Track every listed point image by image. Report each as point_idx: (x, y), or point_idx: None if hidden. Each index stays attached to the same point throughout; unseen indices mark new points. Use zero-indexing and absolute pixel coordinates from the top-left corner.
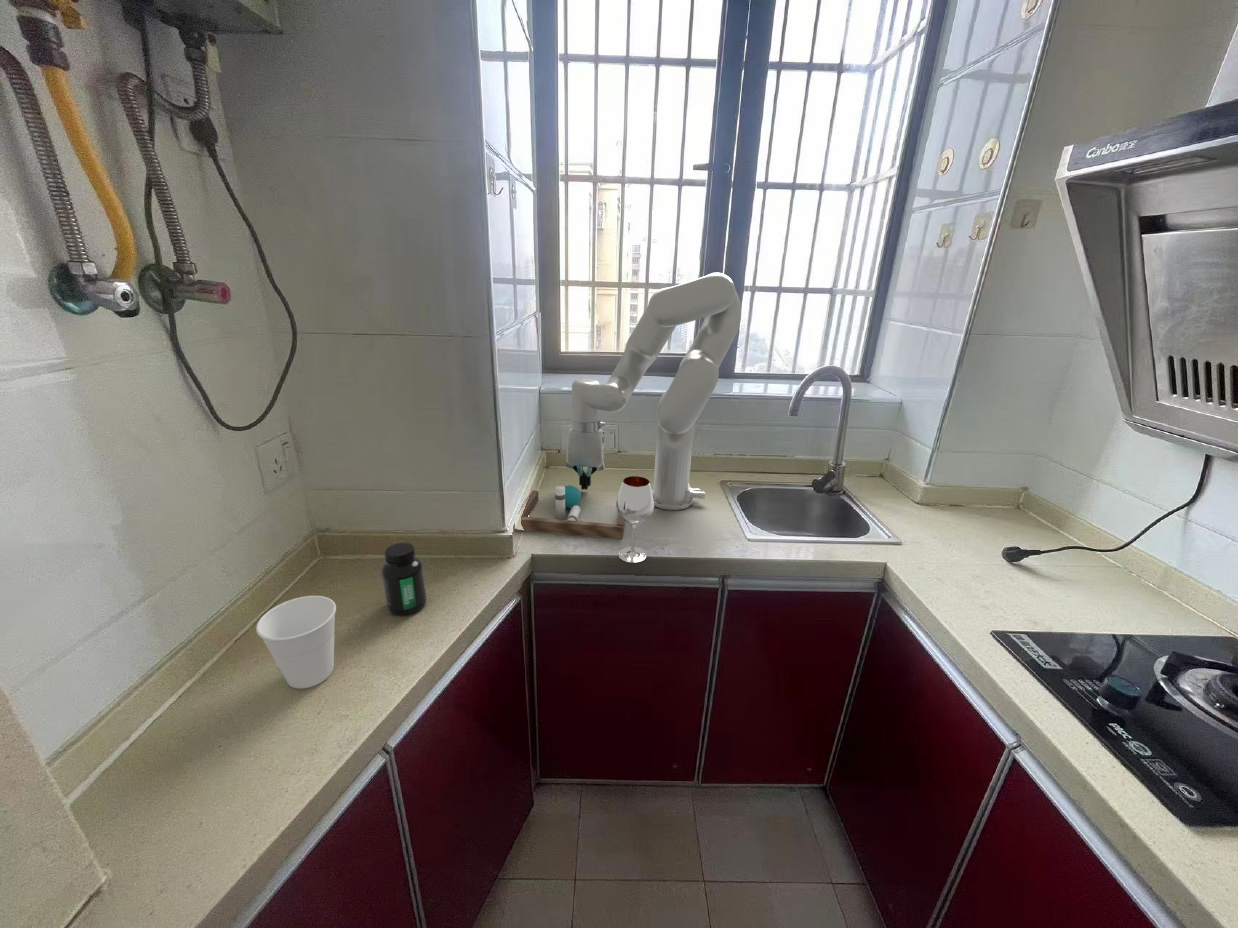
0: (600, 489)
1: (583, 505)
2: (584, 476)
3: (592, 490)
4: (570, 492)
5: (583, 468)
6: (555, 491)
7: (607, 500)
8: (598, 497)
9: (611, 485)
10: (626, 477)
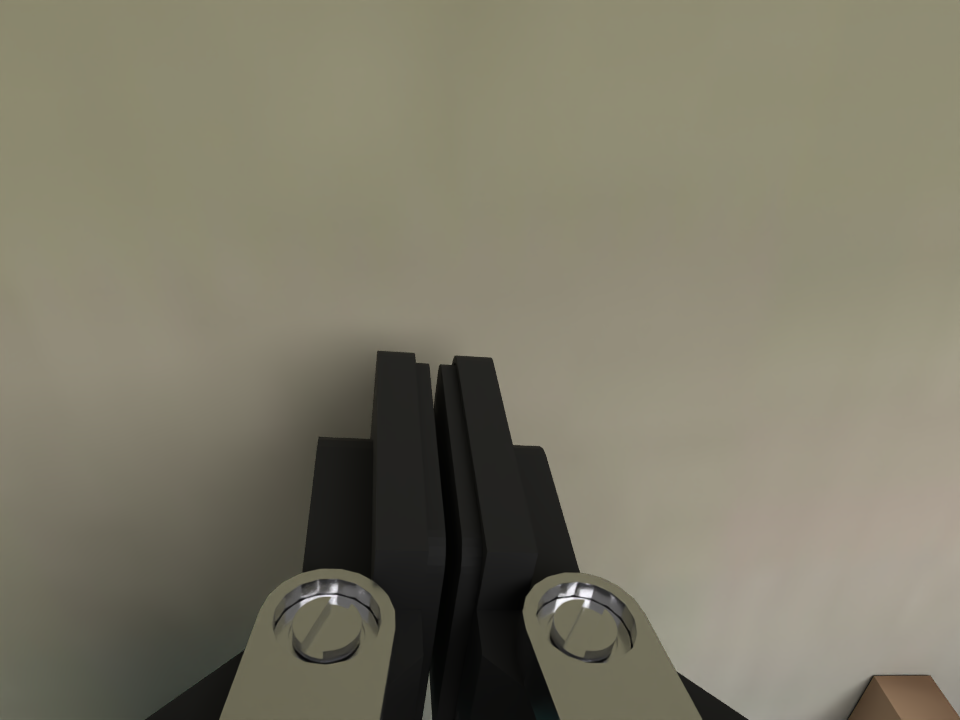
0: (695, 239)
1: (429, 696)
2: (425, 682)
3: (548, 292)
4: None
5: (382, 715)
6: None
7: (738, 563)
8: (628, 505)
9: (950, 28)
10: None
